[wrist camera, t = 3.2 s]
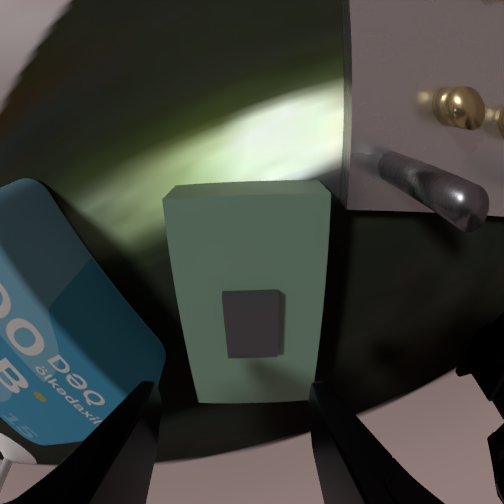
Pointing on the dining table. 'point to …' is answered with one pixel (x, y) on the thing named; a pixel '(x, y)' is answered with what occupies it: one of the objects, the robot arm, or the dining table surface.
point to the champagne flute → (12, 456)
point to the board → (250, 285)
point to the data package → (62, 326)
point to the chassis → (424, 108)
